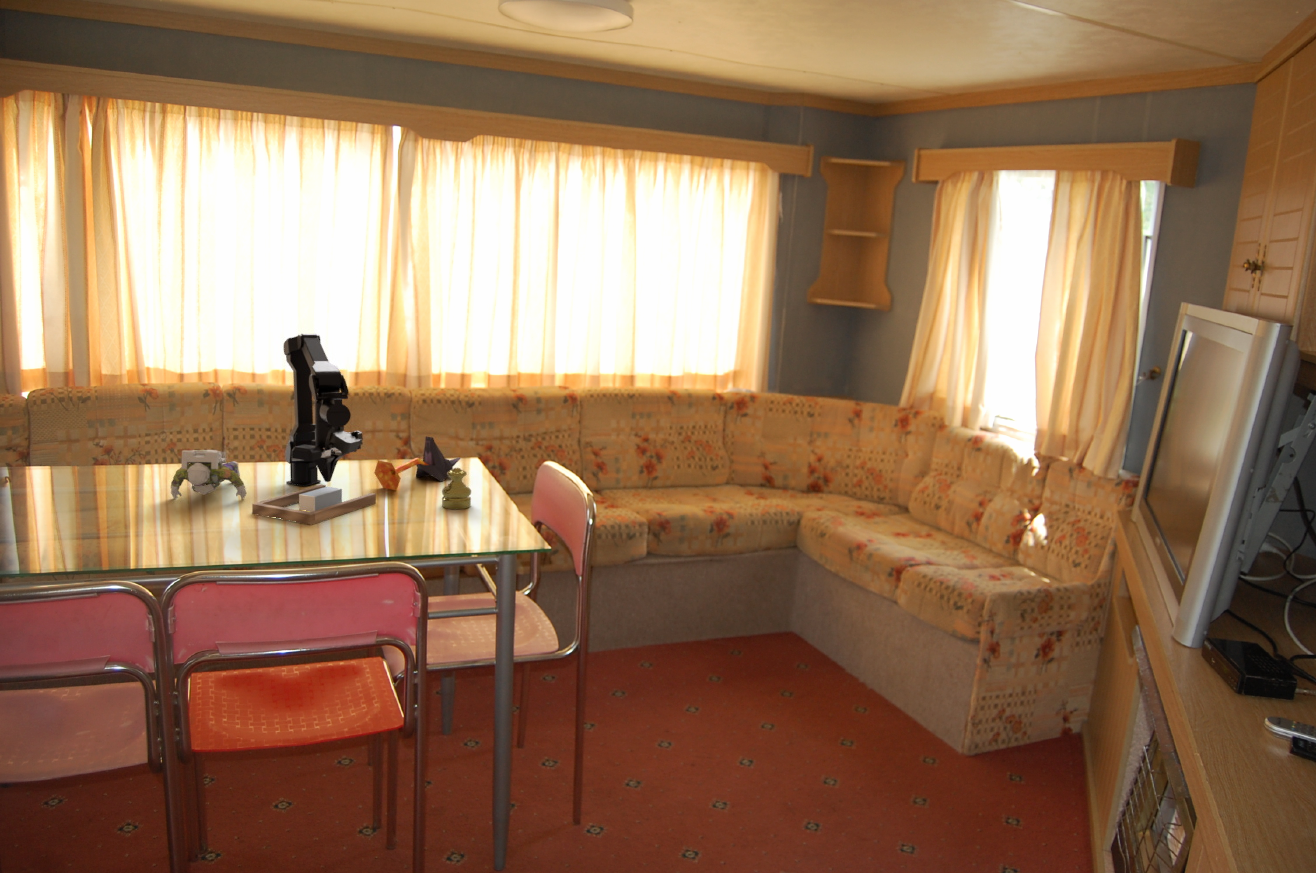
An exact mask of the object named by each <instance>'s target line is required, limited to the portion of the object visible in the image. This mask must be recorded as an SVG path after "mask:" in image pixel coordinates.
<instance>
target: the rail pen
mask: <svg viewBox="0 0 1316 873" xmlns="http://www.w3.org/2000/svg"><path fill="white" fill-rule="evenodd" d="M324 487H327V485H326V484H317V485H315V486H310V487H307V488H304V489H300V490H297V491H292V492H289V493H286V494H283V495H279V496H275V497H272V498H269V499H264V500H262V501H258V502H253V503H252V504H251V505H252V506H251V508H252V509H251V510H252V511H251V513H252V515H255V514H258V515H257V516H260V515H263V516H262V517H265V516H269V517H268V518H271V517H276V518H281V519H283V520H282V521H286V520H290V521H289V522H291V521H296V522H295V523H297V522H298V523H299V524H302V523H304V524H303V525H307V524H310V525H309V526H312V524H313V525H315V523H316V524H318V523H321V522H320V521H322V522H325V521H328V520H330V519H333V518H336V517H339V516H341V515H345V514H348V513H352V512H353V511H357V510H359V509H363V508H366V507H369V506H372V505H375V504H376V503H377V494H376V493H374V492H373V493H372V492H370V493H367V494H364V495H360V496H358V497H354V498H351V499H348V500H346V501H342V502H341V503H338V504H335V505H332V506H329V507H325V508H322V509H319V510H316V511H313V512H306V511H300V510H298V509H293V508H288V505H289V506H291V505H290V504H292V505H294V504H293V503H295V504H297V503H296V502H299V495H300V494H303V493H306V492H310V491H313V490H317V489H320V488H324ZM284 506H285V507H284ZM276 518H275V519H276ZM329 518H330V519H329ZM281 519H280V520H281ZM327 519H328V520H327ZM324 520H325V521H324ZM298 523H297V524H298Z"/></svg>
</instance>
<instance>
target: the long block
mask: <svg viewBox="0 0 1316 873" xmlns="http://www.w3.org/2000/svg"><path fill="white" fill-rule="evenodd" d="M342 490H343V489H342V488H338V487H333V486H328V485H326V487H324V488H320V489H317V490H313V491H310V492H306V493H303V494H300V495H299V504H298V506H299V507H298V508H299V510H306V511H310V512H313V511H316V510H319V509H322V508H325V507H329V506H332V505H335V504H338V503H341V502H343V499H342V498H343V496H342V495H343V493H342V492H343V491H342ZM306 511H305V512H306Z"/></svg>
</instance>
